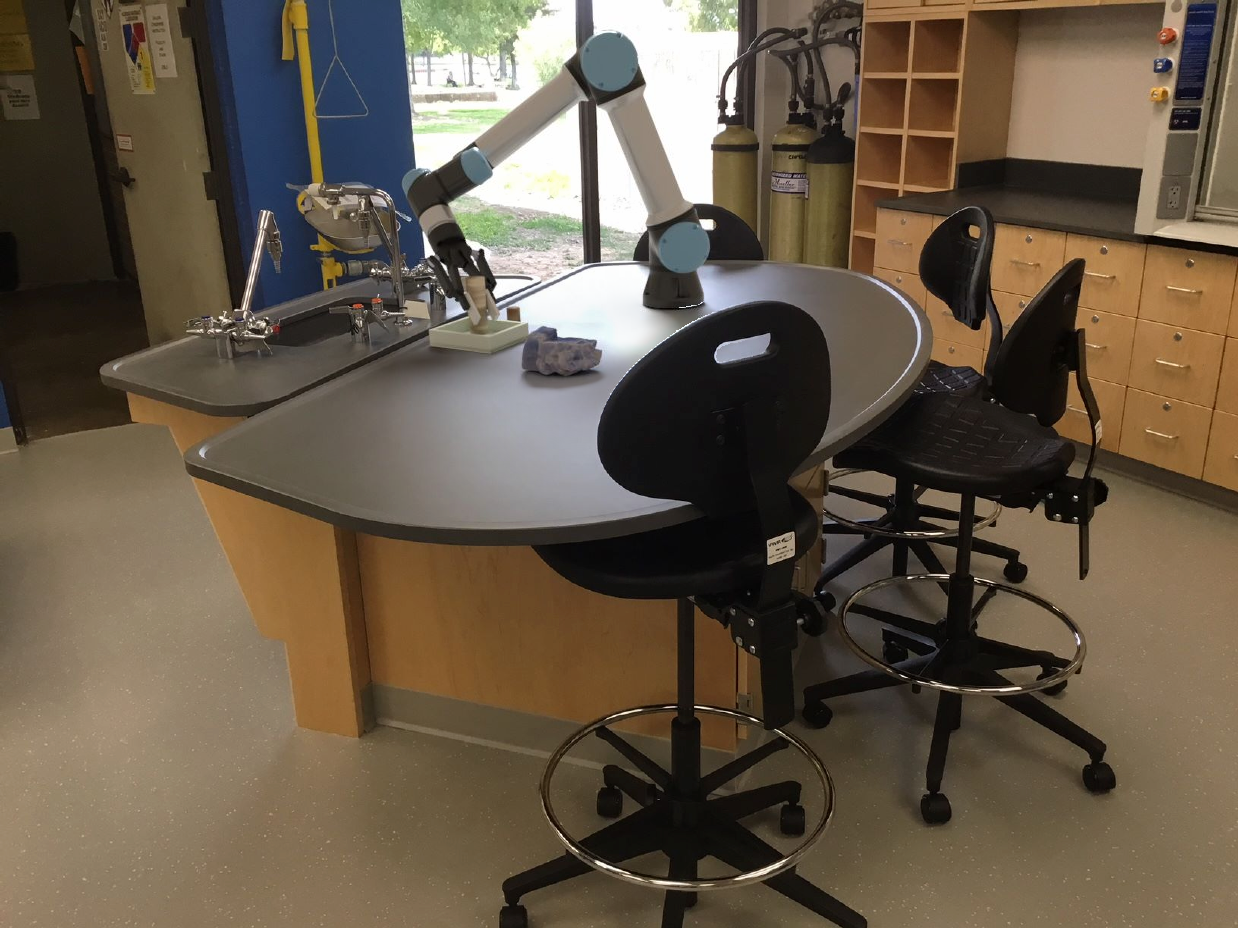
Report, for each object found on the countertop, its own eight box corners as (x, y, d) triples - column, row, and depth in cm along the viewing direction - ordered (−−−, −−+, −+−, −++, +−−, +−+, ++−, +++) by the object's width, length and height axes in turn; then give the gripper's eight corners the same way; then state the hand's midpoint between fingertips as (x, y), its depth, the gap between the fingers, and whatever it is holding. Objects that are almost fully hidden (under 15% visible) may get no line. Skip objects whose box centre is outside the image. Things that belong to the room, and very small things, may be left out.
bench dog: (523, 328, 229) (522, 307, 227) (516, 331, 226) (514, 309, 224) (512, 327, 230) (511, 305, 228) (505, 330, 228) (503, 308, 226)
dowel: (492, 332, 218) (488, 276, 214) (481, 336, 215) (476, 280, 211) (477, 330, 220) (473, 275, 216) (466, 334, 217) (461, 278, 213)
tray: (529, 338, 220) (528, 322, 219) (490, 353, 209) (489, 337, 208) (470, 331, 228) (469, 316, 227) (430, 345, 217) (428, 329, 215)
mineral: (517, 330, 190) (540, 315, 198) (516, 377, 194) (539, 360, 203) (587, 344, 185) (608, 328, 194) (585, 391, 190) (605, 374, 198)
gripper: (472, 238, 228) (515, 323, 221) (402, 247, 218) (446, 336, 212) (482, 216, 222) (527, 302, 215) (411, 225, 212) (456, 315, 206)
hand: (487, 319), depth 214 cm, fingers closed on dowel, 4 cm apart
